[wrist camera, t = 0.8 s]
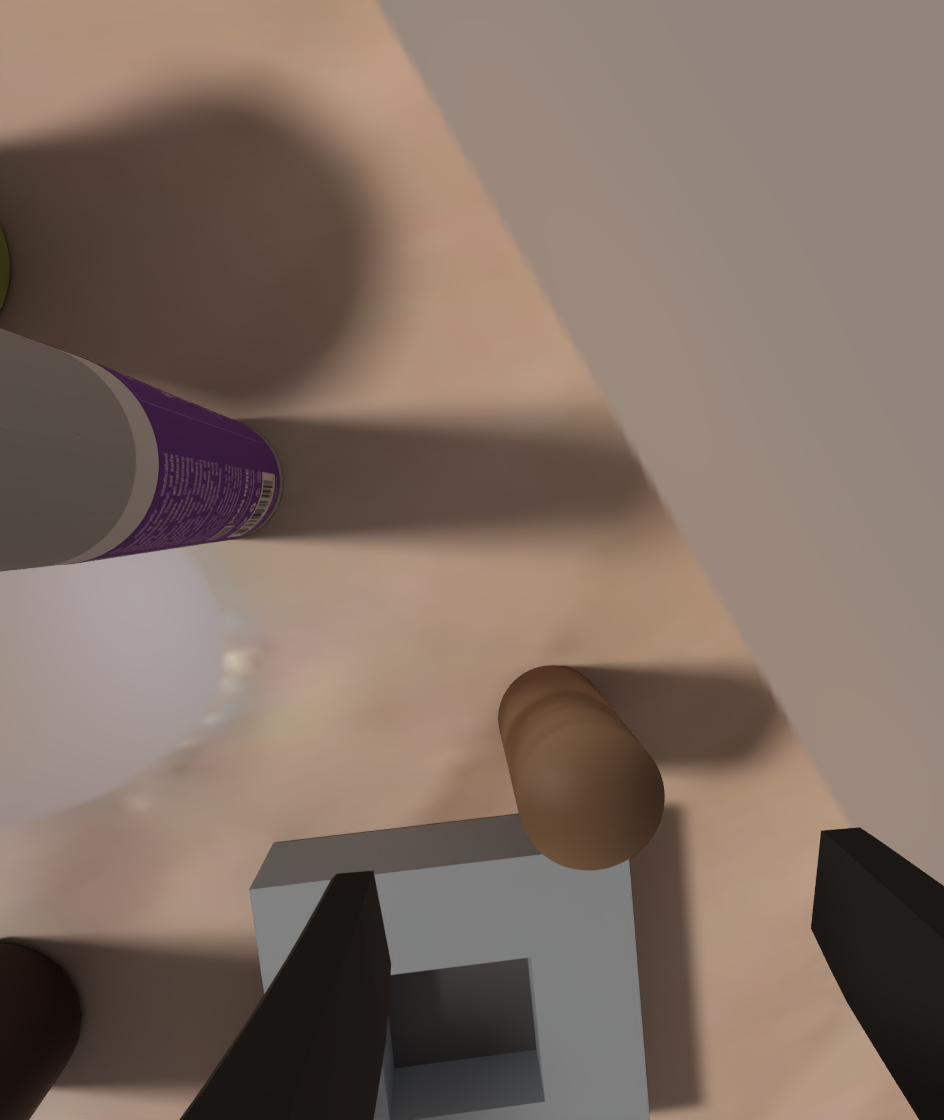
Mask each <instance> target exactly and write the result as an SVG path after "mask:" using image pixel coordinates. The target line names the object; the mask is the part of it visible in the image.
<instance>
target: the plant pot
mask: <svg viewBox="0 0 944 1120" xmlns="http://www.w3.org/2000/svg"><path fill="white" fill-rule="evenodd" d="M9 273H10V261H9V253H8V247H7V243H6V239H5V236H4V233H3V230H2V228H1V225H0V309H1V307H2V305H3V303H4V299H5V296H6V293H7V289H8V285H9Z"/></svg>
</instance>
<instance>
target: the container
mask: <svg viewBox="0 0 944 1120" xmlns="http://www.w3.org/2000/svg"><path fill="white" fill-rule="evenodd" d="M282 490H283V474H282V468H281V464H280V462H279V459H278V457H277V455H276V453H275V451H274V449H273V448H272V446H271V445H270V444H269V443H268V441H267V440H266V439H265V438H264V437H263V436H262V435H260V434H259V433H258V432H256V431H255V430H253V429H252V428H250V427H248V426H246V425H244V424H242V423H239V422H237V421H235V420H232V419H230V418H227V417H225V416H223V415H220V414H218V413H215V412H213V411H210V410H208V409H206V408H203V407H201V406H198V405H196V404H194V403H191V402H189V401H186V400H184V399H181V398H179V397H177V396H174V395H172V394H169V393H167V392H165V391H162V390H160V389H157V388H155V387H152V386H150V385H148V384H145V383H143V382H140V381H138V380H136V379H133V378H131V377H128V376H126V375H123V374H121V373H119V372H116V371H114V370H111V369H109V368H107V367H104V366H102V365H99V364H97V363H94V362H92V361H90V360H87V359H84V358H82V357H79V356H76V355H73V354H70V353H67V352H65V351H62V350H59V349H56V348H53V347H51V346H48V345H45V344H42V343H40V342H37V341H34V340H32V339H29V338H26V337H23V336H21V335H18V334H15V333H12V332H10V331H7V330H4V329H1V328H0V571H8V570H18V569H27V568H36V567H44V566H54V565H65V564H75V563H81V562H88V561H95V560H101V559H107V558H114V557H121V556H127V555H134V554H140V553H147V552H153V551H160V550H167V549H173V548H180V547H186V546H193V545H199V544H206V543H212V542H219V541H226V540H232V539H236V538H241V537H244V536H247V535H249V534H251V533H253V532H255V531H257V530H258V529H260V528H261V527H262V526H263V525H264V524H266V522H267V521H268V520H269V519H270V518H271V517H272V515H273V514H274V512H275V511H276V509H277V507H278V505H279V502H280V499H281V495H282Z"/></svg>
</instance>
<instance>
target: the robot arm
mask: <svg viewBox="0 0 944 1120" xmlns="http://www.w3.org/2000/svg"><path fill="white" fill-rule="evenodd" d="M811 929H812V931H813V933H814V935H815V938H816V940H817V942H818V944H819V946H820V948H821V950H822V952H823V955H824V957H825V959H826V961H827V963H828V965H829V967H830V969H831V971H832V973H833V975H834V977H835V979H836V981H837V983H838V985H839V987H840V989H841V991H842V993H843V995H844V997H845V999H846V1001H847V1003H848V1005H849V1006H850V1008H851V1010H852V1011H853V1013H854V1015H855V1016H856V1018H857V1020H858V1021H859V1023H860V1024H861V1026H862V1028H863V1029H864V1031H865V1033H866V1034H867V1036H868V1038H869V1039H870V1041H871V1042H872V1044H873V1046H874V1047H875V1049H876V1051H877V1052H878V1054H879V1056H880V1057H881V1059H882V1060H883V1062H884V1064H885V1065H886V1067H887V1069H888V1070H889V1072H890V1073H891V1075H892V1077H893V1078H894V1080H895V1081H896V1083H897V1085H898V1086H899V1088H900V1089H901V1091H902V1093H903V1094H904V1096H905V1098H906V1099H907V1101H908V1102H909V1104H910V1106H911V1107H912V1109H913V1110H914V1112H915V1114H916V1115H917V1117H918V1119H919V1120H944V886H943V885H942V884H940V883H939V882H937V881H936V880H934V879H933V878H932V877H930V876H929V875H927V874H926V873H925V872H923V871H922V870H920V869H919V868H918V867H916V866H915V865H913V864H912V863H910V862H909V861H908V860H906V859H905V858H903V857H902V856H901V855H899V854H898V853H896V852H895V851H893V850H892V849H890V848H889V847H888V846H886V845H885V844H883V843H882V842H881V841H879V840H878V839H876V838H875V837H873V836H872V835H870V834H869V833H867V832H866V831H864V830H863V829H861V828H848V829H836V830H825V831H821V837H820V847H819V857H818V866H817V876H816V885H815V895H814V905H813V914H812V924H811ZM390 977H391V960H390V955H389V949H388V944H387V939H386V933H385V928H384V923H383V918H382V912H381V907H380V902H379V897H378V891H377V886H376V881H375V876H374V870H373V871H362V872H350V873H339V874H336V875H335V876H334V877H333V878H332V879H331V880H330V882H329V884H328V886H327V888H326V890H325V891H324V893H323V895H322V897H321V899H320V901H319V902H318V904H317V906H316V908H315V910H314V912H313V913H312V915H311V917H310V919H309V920H308V922H307V924H306V926H305V928H304V929H303V931H302V933H301V934H300V936H299V938H298V940H297V941H296V943H295V945H294V946H293V948H292V950H291V952H290V953H289V955H288V957H287V958H286V960H285V962H284V963H283V965H282V967H281V968H280V970H279V971H278V973H277V975H276V976H275V978H274V980H273V981H272V983H271V984H270V986H269V988H268V989H267V991H266V992H265V994H264V996H263V997H262V999H261V1001H260V1002H259V1004H258V1005H257V1007H256V1009H255V1010H254V1012H253V1013H252V1015H251V1016H250V1018H249V1020H248V1021H247V1023H246V1024H245V1026H244V1027H243V1029H242V1030H241V1032H240V1033H239V1035H238V1036H237V1037H236V1039H235V1040H234V1042H233V1043H232V1045H231V1046H230V1048H229V1049H228V1051H227V1052H226V1054H225V1055H224V1057H223V1058H222V1060H221V1061H220V1063H219V1064H218V1066H217V1067H216V1069H215V1070H214V1071H213V1073H212V1074H211V1076H210V1077H209V1079H208V1080H207V1082H206V1083H205V1085H204V1086H203V1088H202V1089H201V1090H200V1092H199V1093H198V1095H197V1096H196V1097H195V1099H194V1100H193V1102H192V1103H191V1104H190V1106H189V1107H188V1109H187V1110H186V1111H185V1113H184V1114H183V1116H182V1117H181V1118H180V1120H374V1114H375V1108H376V1102H377V1095H378V1089H379V1083H380V1076H381V1070H382V1064H383V1057H384V1051H385V1044H386V1035H387V1022H388V1008H389V993H390Z"/></svg>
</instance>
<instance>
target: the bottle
mask: <svg viewBox="0 0 944 1120" xmlns="http://www.w3.org/2000/svg"><path fill="white" fill-rule="evenodd" d="M80 1024H81V1011H80V1007H79V1003H78V999H77V995H76V991H75V990H74V988H73V987H72V985H71V984H70V982H69V981H68V979H67V978H66V976H65V974H64V973H63V971H62V970H61V969H59V968H58V967H57V966H56V965H54V964H53V963H52V962H51V961H50V960H48V959H47V958H46V957H45V956H43V955H41V954H39V953H36V952H34V951H31V950H29V949H27V948H24V947H22V946H19V945H10V944H1V943H0V1120H29V1119H30V1118H31V1116H32V1115H33V1113H34V1112H35V1110H36V1109H37V1107H38V1106H39V1105H40V1103H41V1102H42V1100H43V1099H44V1097H45V1096H46V1094H47V1093H48V1091H49V1090H50V1088H51V1087H52V1085H53V1084H54V1083H55V1081H56V1080H57V1078H58V1077H59V1075H60V1074H61V1072H62V1071H63V1069H64V1068H65V1066H66V1065H67V1063H68V1061H69V1059H70V1057H71V1055H72V1053H73V1051H74V1048H75V1046H76V1044H77V1042H78V1039H79V1033H80Z"/></svg>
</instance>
